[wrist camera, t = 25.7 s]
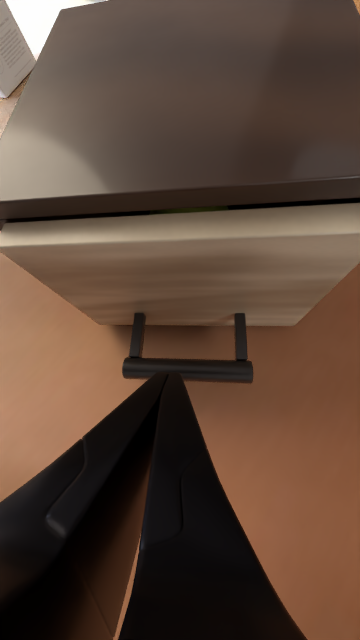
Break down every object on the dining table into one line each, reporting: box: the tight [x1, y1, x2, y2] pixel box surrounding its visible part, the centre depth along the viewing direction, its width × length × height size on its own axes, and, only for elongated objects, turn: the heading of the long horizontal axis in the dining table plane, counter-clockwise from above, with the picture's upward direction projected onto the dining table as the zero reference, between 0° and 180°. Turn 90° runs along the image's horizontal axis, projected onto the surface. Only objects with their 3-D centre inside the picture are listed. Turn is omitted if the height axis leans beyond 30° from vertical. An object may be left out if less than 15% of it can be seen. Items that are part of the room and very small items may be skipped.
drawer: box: [0, 199, 360, 384], centre depth 14 cm, size 17×13×9 cm
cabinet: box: [0, 0, 360, 231], centre depth 15 cm, size 15×15×11 cm
